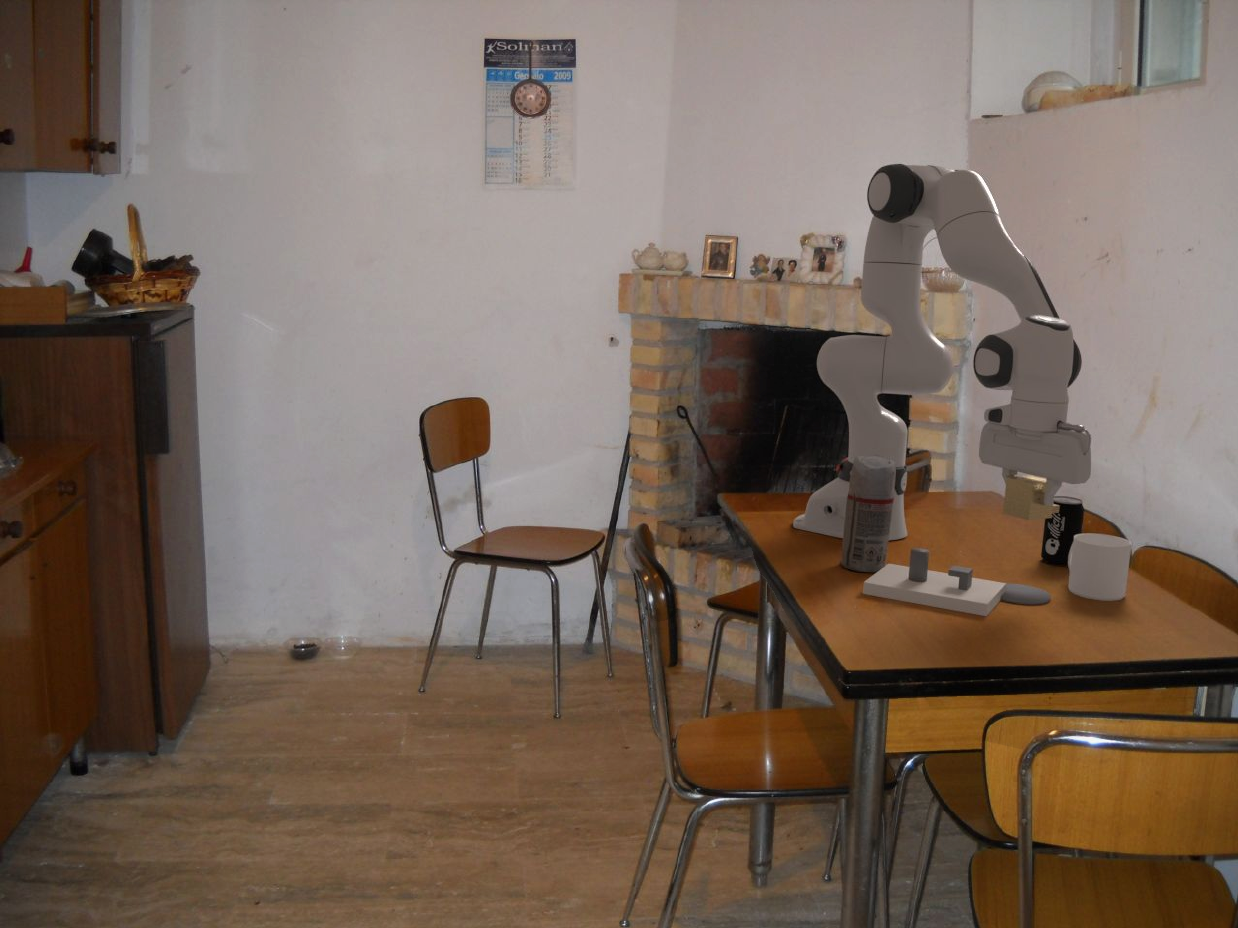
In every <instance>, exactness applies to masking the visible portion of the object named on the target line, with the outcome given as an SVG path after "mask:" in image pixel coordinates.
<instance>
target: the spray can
mask: <svg viewBox="0 0 1238 928" xmlns="http://www.w3.org/2000/svg"><path fill="white" fill-rule="evenodd" d="M895 476H896V463H895V462H894V461H892V460H887V459H885V458H884V457H882V456H879V455H875V454H874V455H869V456H861V457H859V456H858V457H855V460H854V463H853V467H852V471H851V476H850V485H849V492H848V496H847V502H846V511H845V523H844V532H843V538H842V545H841V559H840V561H839V563H840V564H841V566H842V567H843V568H845V569H849V570H851V571H855V572H861V573H877V572H878V571H879V570H881V569H882V568H884V567H885V566H886V561H887V556H888V545H889V541H890V540H889V533H890V525H891V520H892V510H893V502H894V487H895Z"/></svg>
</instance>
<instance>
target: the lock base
mask: <svg viewBox="0 0 1238 928" xmlns="http://www.w3.org/2000/svg"><path fill="white" fill-rule="evenodd" d="M929 560H930V550H928V549H926V548H916V547H915V548H911V549H910V556H909V566H907V565H899V564H893V563H888V564H885V567H884V568H882V569H881V570H879V571H878V572H874V574H873V575H871V576H870V577H869V578H867V579H866V580H865V581H863V588H862V595H866V596H873V597H879V598H884V599H890V600H894V601H901V602H905V603H911V604H916V605H923V606H927V607H933V608H939V609H945V610H949V611H955V612H960V613H965V614H971V615H977V616H982V617H988V615H989V614H990V613H991V612H992V611H993V609H994V608H995V607H996V606H997V605H998V603H1000V601H1002V600H1001V596H1002V595H1003V594H1004V592H1005V591H1006V583H1007V582H999V581H996V580H994V581H993V580H988V579H983V578H977V577H973V572H974V569H973V568H969V567H964V566H957V565H952V566H951V567H950V568H949V569H948V573H947V572H941V571H935V570H929Z"/></svg>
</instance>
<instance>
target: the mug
mask: <svg viewBox="0 0 1238 928" xmlns="http://www.w3.org/2000/svg"><path fill="white" fill-rule="evenodd" d="M1131 550H1132V542H1131V541H1130V540H1128V539H1126V538H1123V537H1119V536H1115V535H1111V534H1103V533H1091V532H1087V533H1086V532H1085V533H1083V532H1082V534H1077V535H1075V536H1074V541H1073V543H1072V546H1071V548H1070V551H1069V556H1068V566H1067V567H1068V570H1069V578H1068V586H1067V587H1068V588H1067V589H1068V590H1069V592H1070V593H1072V594H1073V595H1076V596H1078V597H1082V598H1084V599H1089V600H1094V601H1103V602H1104V601H1105V602H1115V601H1120V600H1123V599H1124V597H1125V596H1126V593H1127V592H1126V591H1127V583H1128V575H1129V566H1130V560H1131V559H1130V558H1131Z"/></svg>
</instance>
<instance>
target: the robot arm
mask: <svg viewBox="0 0 1238 928" xmlns="http://www.w3.org/2000/svg"><path fill="white" fill-rule="evenodd" d="M866 194H867V195H866V196H867V197H866V199H867V205H868V208H869V211H870V213H871V214H872V215H873V216H872V218H871V221H870V224H869V228H868V232H867V236H866V240H865V241H866V243H865V247H864V256H863V264H862V275H861V290H860V300H861V301H860V302H861V305H862V306H863V308H864V309H865V311H867V312H869V313H870V314H871V315H873V316H875V317H876V318H878V319H880V320H882V321H884V322H885V323H887V324H888V325H889V328H890V330H891V334H890V335H886V336H880V335H879V336H878V335H877V336H876V335H863V334H862V335H861V334H860V335H859V334H850V335H849V334H847V335H841V336H835V337H829V338H828V339H827V340H826V341H825V342H824V343H823V344H822V345H821V348H820V349H819V350H818V351H819V352H818V354H817V357H816V358H817V359H816V368H817V369H816V370H817V372H818V375H819V377H820V380H821V381H822V382H823V384H824V385H826V386H827V387H828V388H829V389H830V390H831V391H832V392H833V393H834V394H835V395H836V396H837V398H838V399H839V401H840V402H841V404H842V406H843V409H844V411H845V413H846V415H847V421H848V432H849V433H848V457H846V458H844V459H843V460H841V462H839V463H838V465H836V466H835V467H836V468H835V471H836V472H837V476H838V477H836V478H834V479H833V480H832V481H830V482H829V483H827V484H825V485H824V486H822V487H820V488H819V489H818V490H816V491H815V492H813V494H811V495H810V497H809V499H808V501H807V503H806V508H805V512H804V513H802V514H800V515H798V516H797V517H795V518H794V519H793V521H792V522H793V523H792V526H793V528H795V529H798V530H802V531H807V532H810V533H811V532H812V533H817V534H819V535H820V534H821V535H825V536H830V537H835V538H839V539H843V532H844V523H845V511H846V502H847V496H848V492H849V485H850V476H851V471H852V467H853V463H854V460H855V457H858V456H859V457H861V456H869V455H874V454H875V455H879V456H882V457H884V458H885V459H887V460H892V461H894V462H895V463H896V476H895V487H894V502H893V510H892V520H891V525H890V533H889V541H894V540H901V539H904V538H906V537H907V536H908V530H907V526H906V519H905V510H904V509H905V507H904V506H905V503H904V494H905V491H906V487H907V480H908V472H907V471H908V470H907V469H908V465H907V464H906V457H907V445H908V444H907V442H908V433H909V431H908V427H907V425H906V423H905V421H904V420H903V419H902V417H900V416H899V415H897V414H896V413H894V412H892V411H891V410H889V409H886V408H885V407H884V406H882V405H881V404H880V402H879V400H878V395H880V394H892V395H903V396H904V395H907V396H923V395H924V396H925V395H930V394H938V393H940V392H942V391H943V390H944V389H945V388H946V387H947V385H949V383H950V381H951V379H952V376H953V372H954V361H953V357H952V354H951V352H950V350H949V348H948V347H947V346H946V345H945V344H944V343H943V342H941V341H940V340H939V339H938V338H937V336H935V335H934V334H933V332H932V330H930V327H929V326H928V325H927V321H926V319H925V317H924V314H923V311H922V304H921V301H922V300H921V286H922V285H921V283H922V268H923V267H922V266H923V256H924V255H923V253H924V252H923V251H924V250H923V249H924V242H925V239H926V237H927V236H928V234H929V233H930V232H932V231H933V230H934V231H935V233H936V239H937V242H938V245H939V249H940V252H941V255H942V257H943V259H944V261H945V263H946V265H947V266H948V267H949V269H950V270H951V271H952V272H953V273H954V274H956V275H957V276H959V277H961V278H963V279H965V280H967V281H969V282H974V283H977V284H980V285H982V286H985V287H987V288H989V289H992V290H994V291H996V292H997V293H1000V294H1001V295H1002V296H1004V297H1006V298H1007V300H1009V301H1010V302H1011V304H1012V305H1013V307H1014V309H1015V311H1016V313H1017V315H1018V318H1019V320H1020V322H1019V323H1018V324H1017V325H1015V326H1013V327H1012V328H1009V329H1007V330H1004V331H1001V332H997V333H992V334H987V335H986V336H985V337H983V339H981V341H979V343H978V345H977V346H976V348H975V351H974V355H973V361H972V363H973V364H972V365H973V371H974V375H975V377H976V379H977V381H978V382H979V383H980V384H981V386H983V387H984V388H987V389H991V390H994V391H1011V392H1012V393H1011V397H1010V403H1009V404H1005V405H999V406H995V407H991V408H987V409H985V411H984V415H983V419H984V421H985V422H986V423H985V424H984V425H983V426H982V429H981V433H980V437H979V438H980V439H979V445H978V457H979V460H980V462H981V463H982V464H984V465H988V466H992V467H997V468H1001V471H1002V472H1001V475H1002V479H1003V481H1004V484H1005V485H1006V479H1007V477H1015V476H1018V473H1024V474H1027V475H1030V476H1035V477H1039V478H1043V479H1047V480H1046V485H1049V487H1048V488H1047V490H1046V492H1045V493H1044V494H1040V496H1039V498H1040V500H1039V504H1041V505H1045V506H1052V505H1053V502H1054V496H1056V494H1057V493H1058V491H1059V490H1060V489H1061V487H1062V485H1063V483H1066V484H1070V485H1080V484H1086V483H1087V482H1088V481H1089V480H1090V478H1091V474H1092V472H1091V471H1092V451H1091V449H1092V448H1091V445H1092V444H1091V443H1092V435H1091V434H1090V432H1089V431H1088V429H1087V428H1086V427H1085V426H1084V425H1082V424H1073V423H1070V422H1067V419H1068V410H1069V401H1070V400H1069V398H1070V397H1069V394H1068V393H1069V392H1068V388H1069V387H1071V386H1072V385H1073V383H1074V382H1075V381H1076V380H1077V378H1078V376H1080V375H1079V374H1080V372H1081V370H1082V363H1083V361H1082V360H1083V359H1082V352H1081V351H1080V350H1081V349H1080V347H1079V346H1078V343H1077V342H1076V340H1075V339H1074V333H1073V327H1072V326H1071V324H1070V323H1068V322H1067V321H1065V319H1064V320H1063V319H1061V318H1060V316H1059V314H1058V312H1057V310H1056V308H1055V306H1054V304H1053V302H1052V299H1051V297H1050V296H1049V293H1048V292H1047V289H1046V288H1045V285H1044V284H1043V281H1042V279H1041V276H1040V275H1039V273H1038V271H1037V270H1036V268H1035V266H1034V264H1033V263H1032V261H1031V260H1030V259H1029V258H1028V257H1027V256H1026V255H1025V254H1024V253H1023V252H1022V251H1021V250H1020V249H1019V248H1018V247H1017V245H1015V243H1014V242H1013V240H1012V239H1011V236H1010V235H1009V234H1008V232H1007V231H1006V229H1005V226H1004V224H1003V221H1002V219H1001V215H1000V213H999V209H998V207H997V205H996V202H995V200H994V197H993V195H992V193H991V191H990V190H989V187H988V186H987V184H986V182H985V181H984V179H983V178H982V176H981V175H980V174H979V173H977V172H975V171H973V170H970V169H969V170H968V169H951V168H946V167H943V166H938V165H932V164H931V165H930V164H928V165H915V164H914V165H913V164H911V165H909V164H907V165H906V164H903V163H893V164H887V165H883V166H882V167H879V168H878V169H877V170H876V171H875V173H874V174H873V175H872V177H871V179H870V181H869V183H868V187H867V193H866Z"/></svg>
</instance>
